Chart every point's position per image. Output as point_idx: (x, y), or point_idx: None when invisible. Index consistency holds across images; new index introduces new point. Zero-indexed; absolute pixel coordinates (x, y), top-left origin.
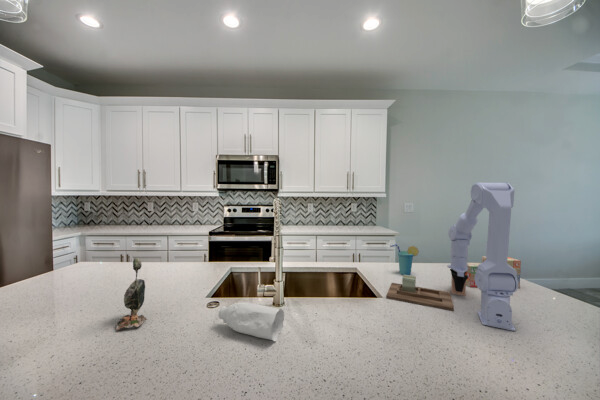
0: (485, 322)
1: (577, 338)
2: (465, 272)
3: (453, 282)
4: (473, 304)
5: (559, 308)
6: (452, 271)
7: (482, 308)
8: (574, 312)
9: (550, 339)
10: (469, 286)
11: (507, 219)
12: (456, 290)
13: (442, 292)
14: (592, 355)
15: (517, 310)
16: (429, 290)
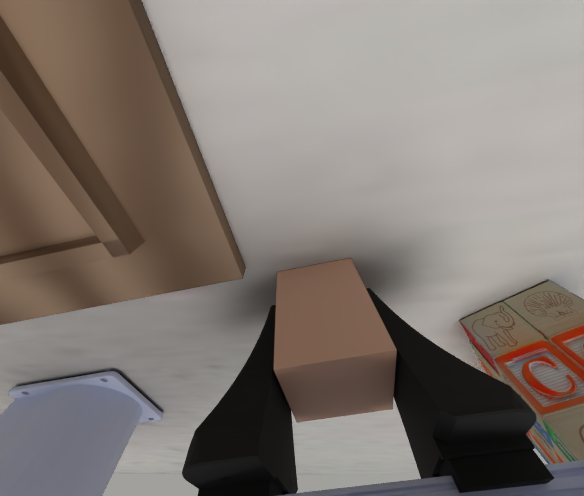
0: (23, 397)
1: (182, 466)
2: (420, 472)
3: (277, 341)
4: (197, 352)
5: (356, 455)
6: (430, 409)
7: (19, 433)
8: (346, 465)
9: None
10: (464, 320)
11: None
12: (269, 312)
13: (188, 242)
14: (120, 473)
15: None
16: (47, 162)
